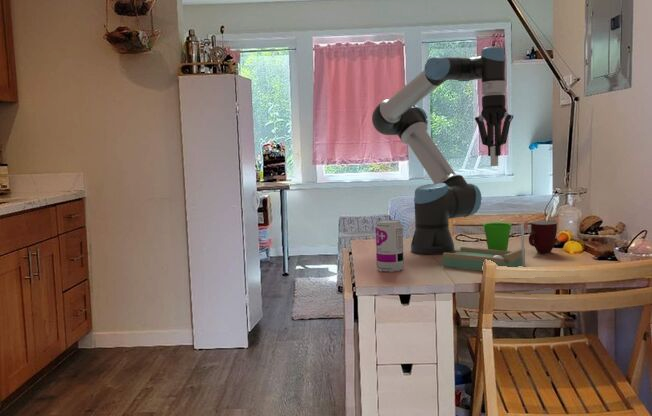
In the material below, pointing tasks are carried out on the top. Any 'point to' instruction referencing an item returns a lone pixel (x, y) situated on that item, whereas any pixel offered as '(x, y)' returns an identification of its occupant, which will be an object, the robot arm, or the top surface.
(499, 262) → the green tray
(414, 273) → the top surface
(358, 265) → the top surface
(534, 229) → the mug
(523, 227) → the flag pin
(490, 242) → the cup
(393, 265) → the supplement can
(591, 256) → the top surface
